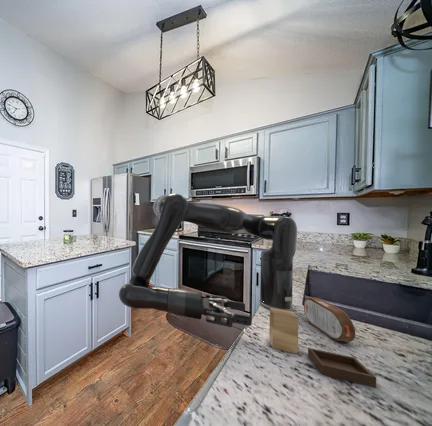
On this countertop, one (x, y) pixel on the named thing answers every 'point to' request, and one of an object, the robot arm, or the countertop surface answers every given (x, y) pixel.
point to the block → (283, 330)
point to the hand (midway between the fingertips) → (247, 313)
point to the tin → (329, 319)
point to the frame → (341, 367)
